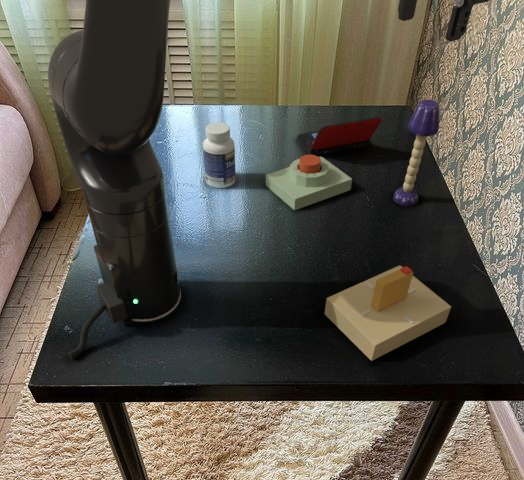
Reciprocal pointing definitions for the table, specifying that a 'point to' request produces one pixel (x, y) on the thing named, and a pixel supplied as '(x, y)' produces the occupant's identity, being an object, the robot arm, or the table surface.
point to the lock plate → (385, 316)
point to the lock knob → (391, 288)
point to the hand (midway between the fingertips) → (428, 29)
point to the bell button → (309, 164)
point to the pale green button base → (307, 184)
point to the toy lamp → (418, 147)
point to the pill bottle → (219, 156)
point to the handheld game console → (339, 136)
